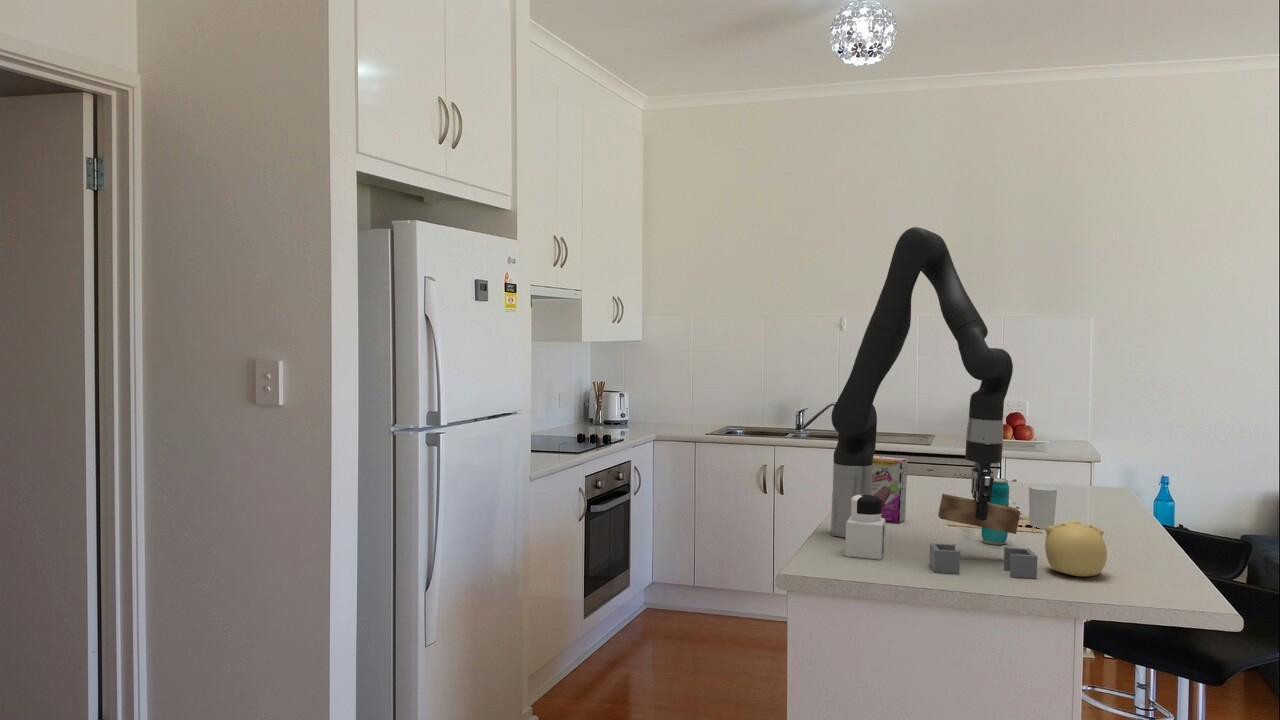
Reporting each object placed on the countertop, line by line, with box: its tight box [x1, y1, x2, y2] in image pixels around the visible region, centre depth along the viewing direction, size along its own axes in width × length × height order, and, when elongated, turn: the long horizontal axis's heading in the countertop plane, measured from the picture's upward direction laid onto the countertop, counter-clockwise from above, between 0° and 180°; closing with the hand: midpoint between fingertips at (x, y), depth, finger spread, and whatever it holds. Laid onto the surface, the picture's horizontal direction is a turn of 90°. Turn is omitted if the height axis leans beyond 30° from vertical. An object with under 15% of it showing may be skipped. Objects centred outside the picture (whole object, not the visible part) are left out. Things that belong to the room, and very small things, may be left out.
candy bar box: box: [872, 455, 908, 524], centre depth 251 cm, size 11×5×16 cm, turn 58°
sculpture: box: [1044, 520, 1108, 577], centre depth 199 cm, size 11×12×11 cm
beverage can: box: [981, 477, 1010, 546], centre depth 226 cm, size 6×6×15 cm
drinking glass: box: [1028, 485, 1058, 530], centre depth 246 cm, size 7×7×10 cm
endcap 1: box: [929, 542, 961, 575], centre depth 200 cm, size 5×7×4 cm
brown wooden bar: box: [937, 493, 1021, 535], centre depth 210 cm, size 16×4×5 cm, turn 80°
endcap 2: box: [1003, 547, 1038, 579], centre depth 198 cm, size 5×7×4 cm
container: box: [844, 495, 886, 561], centre depth 211 cm, size 8×8×13 cm
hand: (979, 517), depth 210 cm, fingers closed on brown wooden bar, 3 cm apart
